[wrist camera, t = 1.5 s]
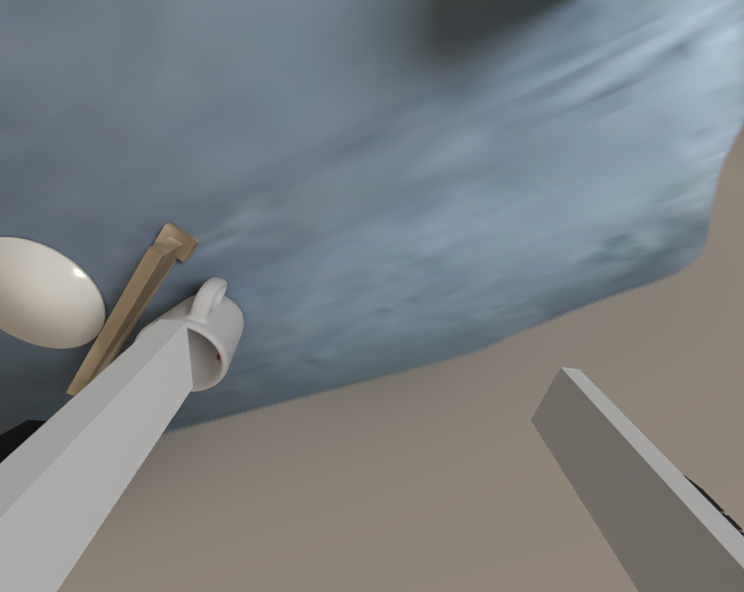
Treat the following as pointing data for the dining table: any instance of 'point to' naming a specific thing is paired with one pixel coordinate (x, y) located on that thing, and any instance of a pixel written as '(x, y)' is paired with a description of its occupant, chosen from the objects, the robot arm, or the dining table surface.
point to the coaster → (47, 296)
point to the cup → (208, 331)
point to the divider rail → (134, 301)
